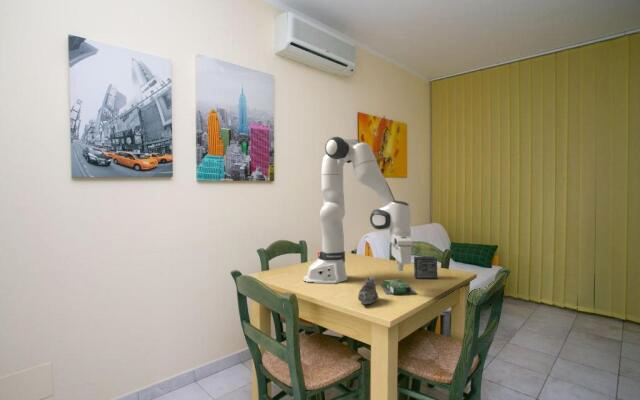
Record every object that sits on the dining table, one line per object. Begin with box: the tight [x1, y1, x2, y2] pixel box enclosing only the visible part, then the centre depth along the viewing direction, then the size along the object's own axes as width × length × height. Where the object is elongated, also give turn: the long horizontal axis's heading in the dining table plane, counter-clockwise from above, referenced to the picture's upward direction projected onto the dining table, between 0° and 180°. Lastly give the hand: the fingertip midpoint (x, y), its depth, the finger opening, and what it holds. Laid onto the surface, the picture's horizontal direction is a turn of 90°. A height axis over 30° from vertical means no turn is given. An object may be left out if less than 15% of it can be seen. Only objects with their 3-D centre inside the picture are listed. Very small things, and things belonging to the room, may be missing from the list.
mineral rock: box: [357, 276, 379, 305], centre depth 137 cm, size 13×11×10 cm
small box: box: [413, 256, 438, 280], centre depth 174 cm, size 11×6×10 cm, turn 84°
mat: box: [380, 283, 418, 295], centre depth 153 cm, size 13×14×1 cm
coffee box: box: [382, 279, 412, 295], centre depth 152 cm, size 8×3×13 cm
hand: (400, 270), depth 147 cm, fingers closed
